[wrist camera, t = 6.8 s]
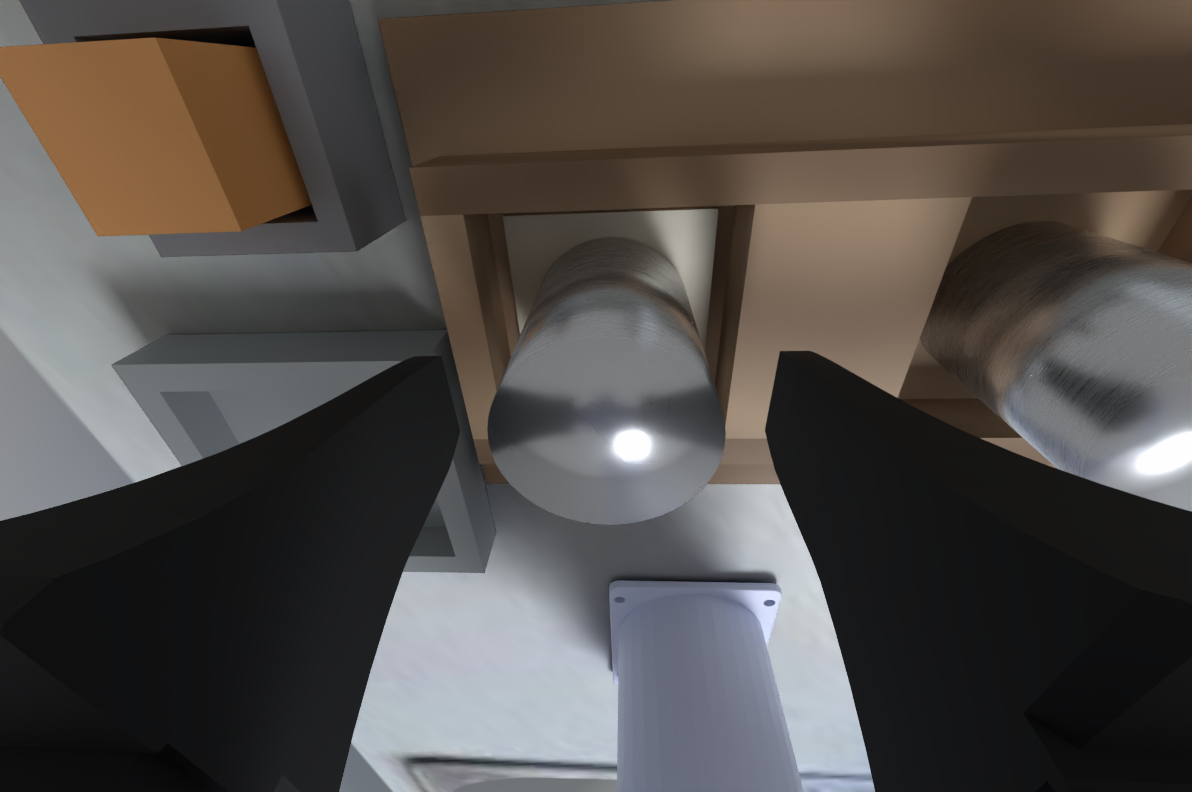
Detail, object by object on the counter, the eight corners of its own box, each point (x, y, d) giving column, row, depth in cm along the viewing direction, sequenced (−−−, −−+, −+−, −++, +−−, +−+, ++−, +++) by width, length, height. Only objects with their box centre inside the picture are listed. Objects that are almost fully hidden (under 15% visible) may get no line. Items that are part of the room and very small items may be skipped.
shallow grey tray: (496, 532, 21) (484, 573, 19) (283, 530, 22) (254, 569, 20) (448, 329, 16) (425, 360, 14) (166, 334, 16) (111, 364, 15)
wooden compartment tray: (1046, 466, 18) (1116, 529, 15) (492, 465, 19) (472, 523, 16) (1367, -37, 10) (1622, -79, 7) (396, 23, 11) (330, 6, 9)
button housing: (405, 221, 14) (356, 251, 11) (243, 226, 14) (161, 257, 12) (348, -1, 11) (267, -26, 9) (148, 12, 11) (14, -8, 9)
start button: (323, 200, 12) (241, 231, 9) (208, 204, 12) (98, 235, 9) (273, 49, 10) (155, 37, 7) (140, 57, 10) (-17, 48, 8)
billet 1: (681, 378, 15) (709, 528, 10) (542, 376, 15) (502, 521, 10) (695, 236, 12) (743, 339, 7) (530, 236, 13) (469, 335, 8)
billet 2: (1048, 369, 14) (1278, 522, 9) (898, 370, 15) (1041, 520, 10) (1133, 217, 12) (1506, 314, 7) (950, 223, 12) (1179, 320, 7)
